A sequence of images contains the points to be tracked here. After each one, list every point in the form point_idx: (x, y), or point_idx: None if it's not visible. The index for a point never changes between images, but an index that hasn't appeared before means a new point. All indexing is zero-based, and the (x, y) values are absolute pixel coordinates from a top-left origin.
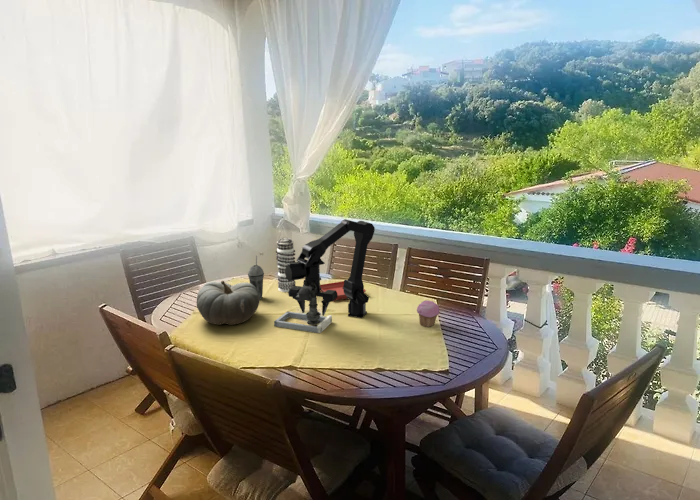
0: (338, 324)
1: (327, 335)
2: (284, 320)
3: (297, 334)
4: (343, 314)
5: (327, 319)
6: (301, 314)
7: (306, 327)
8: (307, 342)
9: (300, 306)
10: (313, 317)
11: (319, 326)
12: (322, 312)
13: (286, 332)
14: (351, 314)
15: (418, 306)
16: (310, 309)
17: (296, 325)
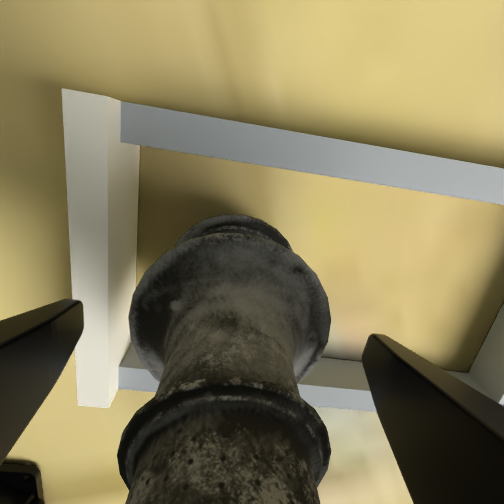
0: None
1: (10, 57)
2: (499, 312)
3: (339, 18)
4: (85, 479)
5: None
6: None
7: (268, 128)
8: None
9: (479, 397)
10: (203, 245)
11: (79, 91)
12: (40, 319)
13: (464, 52)
14: (10, 483)
15: None
16: (263, 343)
17: (390, 149)
